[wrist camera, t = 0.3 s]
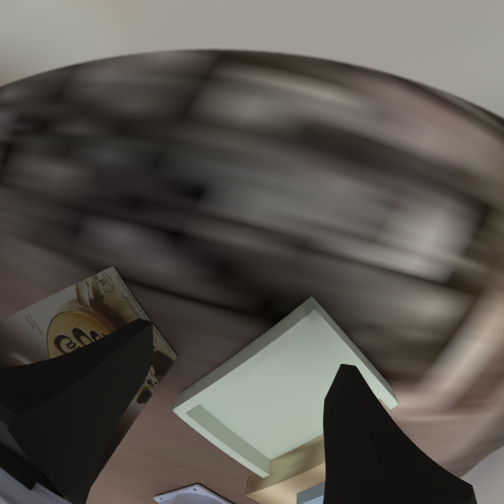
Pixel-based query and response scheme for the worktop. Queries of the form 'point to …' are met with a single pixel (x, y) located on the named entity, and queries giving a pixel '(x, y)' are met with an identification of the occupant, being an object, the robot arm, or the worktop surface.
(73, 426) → the robot arm
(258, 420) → the tray
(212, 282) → the worktop surface
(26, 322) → the coffee box
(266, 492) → the tan flat block
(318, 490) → the blue rectangular block
